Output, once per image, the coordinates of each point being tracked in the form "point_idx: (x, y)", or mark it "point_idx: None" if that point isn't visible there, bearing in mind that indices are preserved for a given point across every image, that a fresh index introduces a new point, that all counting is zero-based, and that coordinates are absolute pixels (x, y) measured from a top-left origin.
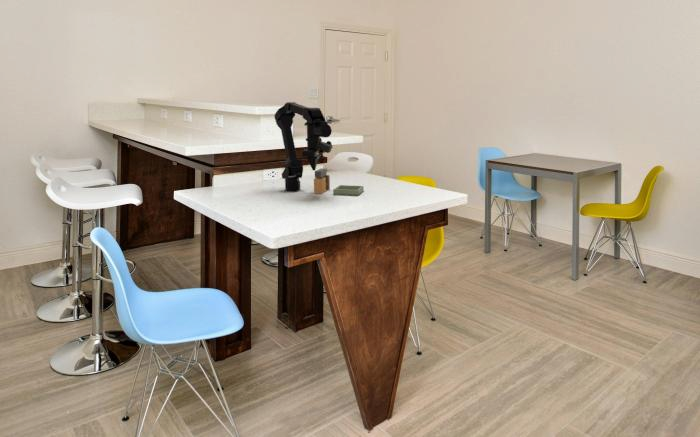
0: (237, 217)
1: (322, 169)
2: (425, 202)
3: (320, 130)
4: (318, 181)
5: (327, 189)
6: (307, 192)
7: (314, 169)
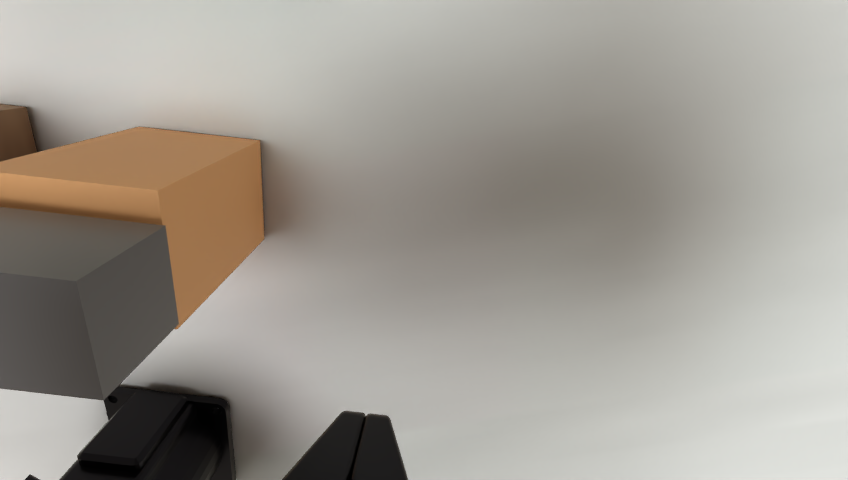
0: None
1: None
2: None
3: None
4: (190, 244)
5: (24, 125)
6: (222, 308)
7: (390, 437)
